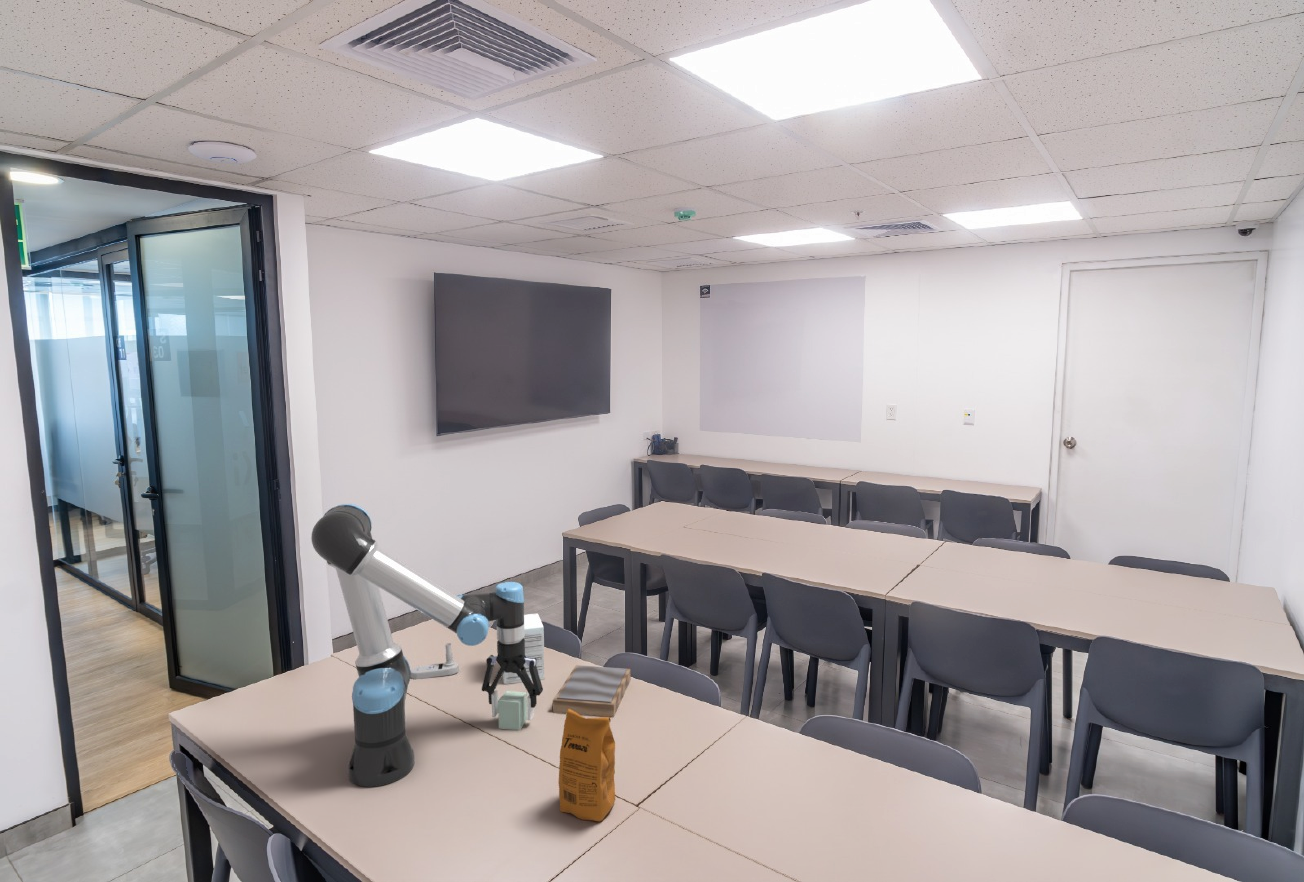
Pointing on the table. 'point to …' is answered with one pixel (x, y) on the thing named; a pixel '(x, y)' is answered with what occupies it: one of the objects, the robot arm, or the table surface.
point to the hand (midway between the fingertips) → (512, 716)
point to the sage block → (512, 710)
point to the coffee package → (587, 767)
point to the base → (593, 691)
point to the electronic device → (437, 667)
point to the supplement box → (531, 647)
